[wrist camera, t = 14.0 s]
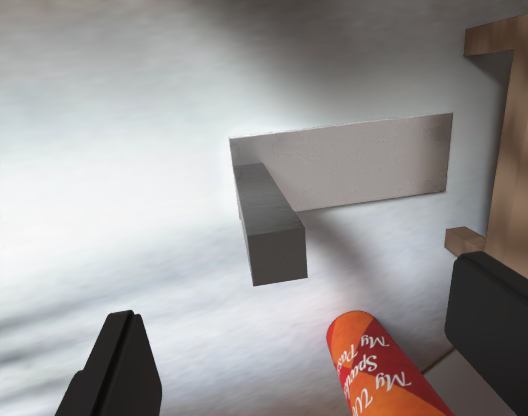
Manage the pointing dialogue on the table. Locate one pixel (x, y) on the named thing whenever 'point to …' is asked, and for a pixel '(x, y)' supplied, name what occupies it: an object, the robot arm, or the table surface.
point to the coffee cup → (378, 371)
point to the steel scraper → (328, 179)
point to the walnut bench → (504, 153)
